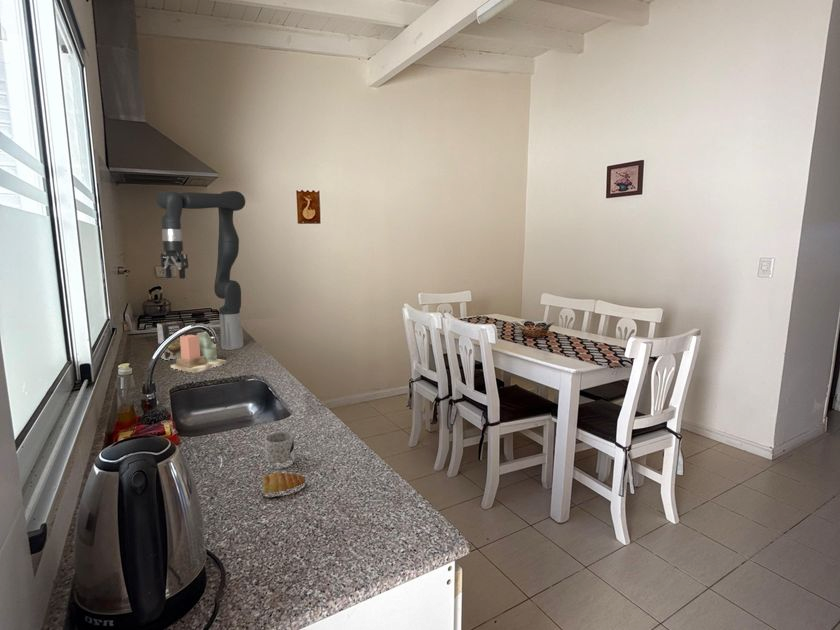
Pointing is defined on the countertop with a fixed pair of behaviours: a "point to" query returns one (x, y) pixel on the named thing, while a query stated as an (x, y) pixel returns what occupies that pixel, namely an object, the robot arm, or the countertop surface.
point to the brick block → (190, 347)
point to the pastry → (281, 482)
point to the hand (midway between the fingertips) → (175, 278)
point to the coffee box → (166, 331)
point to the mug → (279, 447)
